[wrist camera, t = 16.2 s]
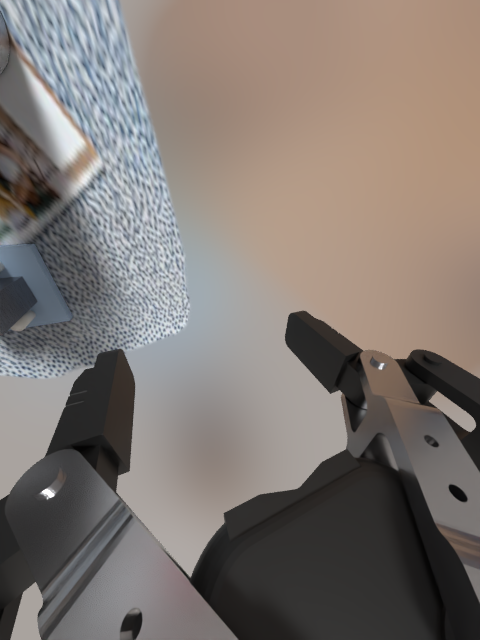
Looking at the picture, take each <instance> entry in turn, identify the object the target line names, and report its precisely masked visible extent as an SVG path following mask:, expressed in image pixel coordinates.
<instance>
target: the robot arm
mask: <svg viewBox="0 0 480 640" xmlns="http://www.w3.org/2000/svg"><path fill="white" fill-rule="evenodd" d="M8 58H9V38H8V34H7V29H6V25H5V22H4V20H3V17H2V15H1V12H0V74H1V73H2V72H3V70H4V68H5V67H6V65H7V62H8ZM285 341H286V344H287V346H288V347H289V348H290V349H291V351H292V352H293V353H294V354H295V355H296V356H297V357H298V358H299V360H300V361H301V362H302V363H303V364H304V365H305V366H306V367H307V368H308V369H309V370H310V372H311V373H312V374H313V375H314V376H315V377H316V378H317V379H318V381H319V382H320V383H321V384H322V385H323V386H324V387H325V388H326V389H327V390H328V392H329V393H330V394H331V393H333V392H336V391H338V390H340V391H341V392H342V395H341V401H342V406H343V413H344V419H345V424H346V430H347V437H348V439H347V447H346V450H344V451H342V452H340V453H338V454H336V455H335V456H333V457H331V458H329V459H327V460H325V461H323V462H322V463H321V464H320V465H319V466H318V467H317V468H316V470H315V471H314V472H313V473H312V474H311V475H310V476H309V478H308V479H307V480H306V481H305V482H304V483H303V484H302V486H301V487H300V488H298V489H295V490H289V491H282V492H274V493H268V494H261V495H258V496H256V497H254V498H252V499H250V500H249V501H247V502H245V503H243V504H241V505H239V506H237V507H235V508H233V509H231V510H229V511H227V512H225V513H224V520H225V523H224V524H223V525H222V526H221V528H220V529H219V530H218V531H217V532H216V533H215V535H214V536H213V537H212V538H211V540H210V541H209V542H208V544H207V546H206V547H205V549H204V551H203V552H202V554H201V556H200V558H199V560H198V562H197V564H196V566H195V568H194V571H193V573H192V576H191V578H190V577H189V575H188V574H187V573H186V572H185V571H184V570H183V569H182V567H181V566H180V565H179V564H178V563H177V562H176V560H175V559H174V558H173V557H172V556H171V555H170V553H169V552H168V551H167V550H166V549H165V548H164V547H163V545H162V544H161V543H160V542H159V541H158V540H157V539H156V538H155V537H154V535H153V534H152V533H151V532H150V531H149V530H148V528H147V527H146V526H145V525H144V524H143V523H142V522H141V520H140V519H139V518H138V517H137V516H136V515H135V513H134V512H133V511H132V510H131V509H130V508H129V506H128V505H127V504H126V503H125V502H124V501H123V500H122V499H121V497H120V496H119V495H118V494H117V493H116V488H117V479H118V475H121V474H124V473H126V472H129V471H130V455H131V442H132V441H131V439H132V427H133V413H134V398H135V381H134V376H133V373H132V371H131V369H130V366H129V364H128V361H127V359H126V357H125V354H124V352H123V350H122V349H117V350H112V351H107V352H102V353H99V354H98V356H97V360H96V363H95V366H94V368H90V369H86V370H84V372H83V373H82V374H81V375H80V376H79V377H78V379H76V381H75V382H74V384H73V387H72V390H71V392H70V396H69V397H68V400H67V402H66V407H65V408H64V410H63V412H62V415H61V418H60V420H59V423H58V425H57V428H56V430H55V433H54V435H53V438H52V440H51V443H50V446H49V448H48V451H47V453H46V455H45V457H44V458H43V459H41V460H40V461H39V462H37V463H36V464H34V465H33V466H32V467H31V468H30V469H29V470H28V471H26V472H25V473H24V474H23V476H22V477H21V478H20V479H19V480H18V482H17V483H16V484H15V486H14V487H13V489H12V490H11V492H10V494H9V495H7V496H6V497H4V498H3V499H1V500H0V640H10V638H11V634H12V631H13V627H14V623H15V619H16V616H17V612H18V608H19V605H20V601H21V597H22V594H23V592H24V591H25V590H26V589H27V588H29V587H30V586H31V585H32V584H33V583H35V582H36V583H37V585H38V587H39V589H40V591H41V594H42V598H43V606H42V608H41V609H40V611H39V613H38V629H39V633H40V637H41V639H42V640H480V379H479V378H477V377H476V376H474V375H472V374H471V373H469V372H467V371H466V370H464V369H462V368H460V367H459V366H457V365H455V364H454V363H452V362H450V361H449V360H447V359H445V358H443V357H442V356H440V355H438V354H436V353H433V352H430V351H426V350H413V351H412V352H411V353H410V355H409V357H408V358H407V359H393V358H391V357H390V356H388V355H386V354H384V353H382V352H379V351H374V350H365V351H363V350H362V349H360V348H359V347H357V346H356V345H355V344H353V343H352V342H351V341H349V340H348V339H347V338H345V337H344V336H342V335H341V334H340V333H339V334H338V332H337V331H336V330H334V329H332V328H331V327H330V326H329V325H327V324H326V323H324V322H323V321H321V320H318V319H316V318H314V317H313V316H311V315H310V314H309V313H307V312H306V311H299V312H295V313H291V314H290V315H289V317H288V323H287V328H286V334H285ZM437 391H438V392H440V393H441V394H443V395H444V396H445V397H447V398H448V399H450V400H451V401H452V402H454V403H455V404H457V405H458V406H459V407H461V408H462V409H463V410H465V411H466V412H467V413H469V414H470V415H471V416H472V417H473V418H474V420H475V422H476V428H475V429H474V430H473V431H472V432H468V431H466V430H465V429H463V428H462V427H460V426H459V425H458V424H457V423H455V422H454V421H453V420H452V419H450V418H449V417H448V416H447V415H445V414H444V413H443V412H441V411H440V410H439V409H438V408H436V407H435V406H434V405H433V404H431V403H430V402H429V400H430V399H431V398H432V396H433V395H434V394H435V393H436V392H437Z"/></svg>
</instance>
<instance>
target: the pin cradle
mask: <svg viewBox="0 0 480 640" xmlns="http://www.w3.org/2000/svg"><path fill="white" fill-rule="evenodd" d="M20 276H22V277H23V278H24V280H25V281H26V283H27V285H28V286H29V288H30V290H31V291H32V293H33V295H34V296H35V298H36V300H37V301H38V302H37V303H36V304H35V305H34V306H33V307H32V308H31V309H30V310H29V311H28V312H27V313H26V314H24V315H23V316H22V317H21V318H20V319H19V320H18V321H17V322H16V323H15V324H14V325H13V326H12V327H11V328H10V329H9V330H14V331H22V330H24V329H25V328H28V327H34V326H40V325H47V324H53V323H59V322H65V321H70V320H71V319H72V317H73V315H72V313H71V312H70V310H69V308H68V306H67V304H66V302H65V300H64V298H63V297H62V295H61V293H60V291H59V289H58V287H57V285H56V283H55V281H54V280H53V278H52V276H51V274H50V272H49V270H48V268H47V266H46V265H45V263H44V261H43V259H42V257H41V255H40V253H39V251H38V250H37V248H36V246H35V244H17V245H0V278H9V277H20ZM9 330H8V331H9Z"/></svg>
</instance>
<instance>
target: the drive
mask: <svg viewBox="0 0 480 640" xmlns="http://www.w3.org/2000/svg"><path fill="white" fill-rule="evenodd" d="M37 302H38V301H37V300H36V298H35V296H34V295H33V293H32V291H31V290H30V288H29V286H28V285H27V283H26V281H25V280H24V278H23V277H22V276H20V277H9V278H0V336H1V335H4V334H5V333H6V332H7V331H8V330H9V329H10V328H11V327H12V326H13V325H14V324H15V323H16V322H17V321H18V320H19V319H20V318H21V317H22V316H23V315H24V314H26V313H27V312H28V311H29V310H30V309H31V308H32V307H33V306H34V305H35V304H36V303H37Z"/></svg>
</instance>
